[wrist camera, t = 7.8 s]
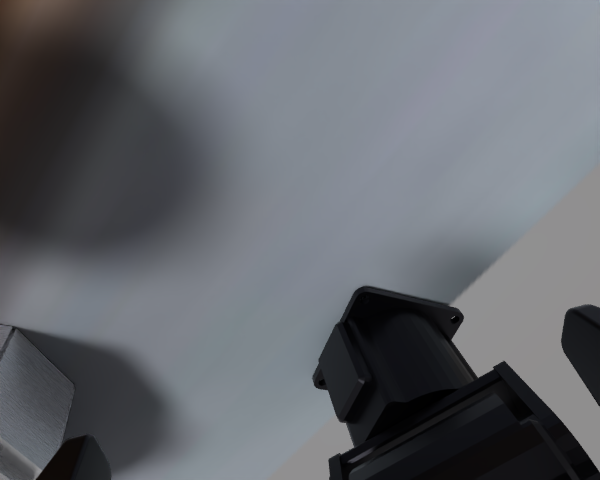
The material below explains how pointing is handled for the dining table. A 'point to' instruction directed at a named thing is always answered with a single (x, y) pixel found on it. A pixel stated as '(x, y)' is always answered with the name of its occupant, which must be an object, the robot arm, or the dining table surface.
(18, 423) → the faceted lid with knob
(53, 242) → the dining table surface
